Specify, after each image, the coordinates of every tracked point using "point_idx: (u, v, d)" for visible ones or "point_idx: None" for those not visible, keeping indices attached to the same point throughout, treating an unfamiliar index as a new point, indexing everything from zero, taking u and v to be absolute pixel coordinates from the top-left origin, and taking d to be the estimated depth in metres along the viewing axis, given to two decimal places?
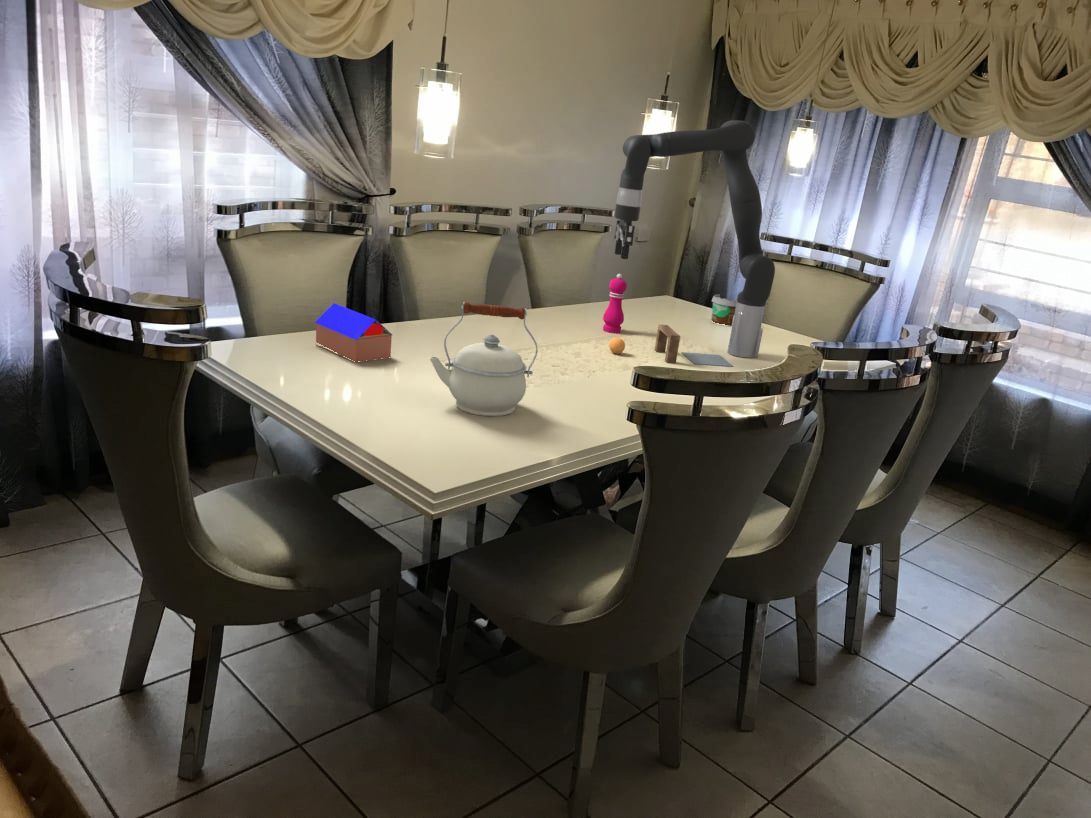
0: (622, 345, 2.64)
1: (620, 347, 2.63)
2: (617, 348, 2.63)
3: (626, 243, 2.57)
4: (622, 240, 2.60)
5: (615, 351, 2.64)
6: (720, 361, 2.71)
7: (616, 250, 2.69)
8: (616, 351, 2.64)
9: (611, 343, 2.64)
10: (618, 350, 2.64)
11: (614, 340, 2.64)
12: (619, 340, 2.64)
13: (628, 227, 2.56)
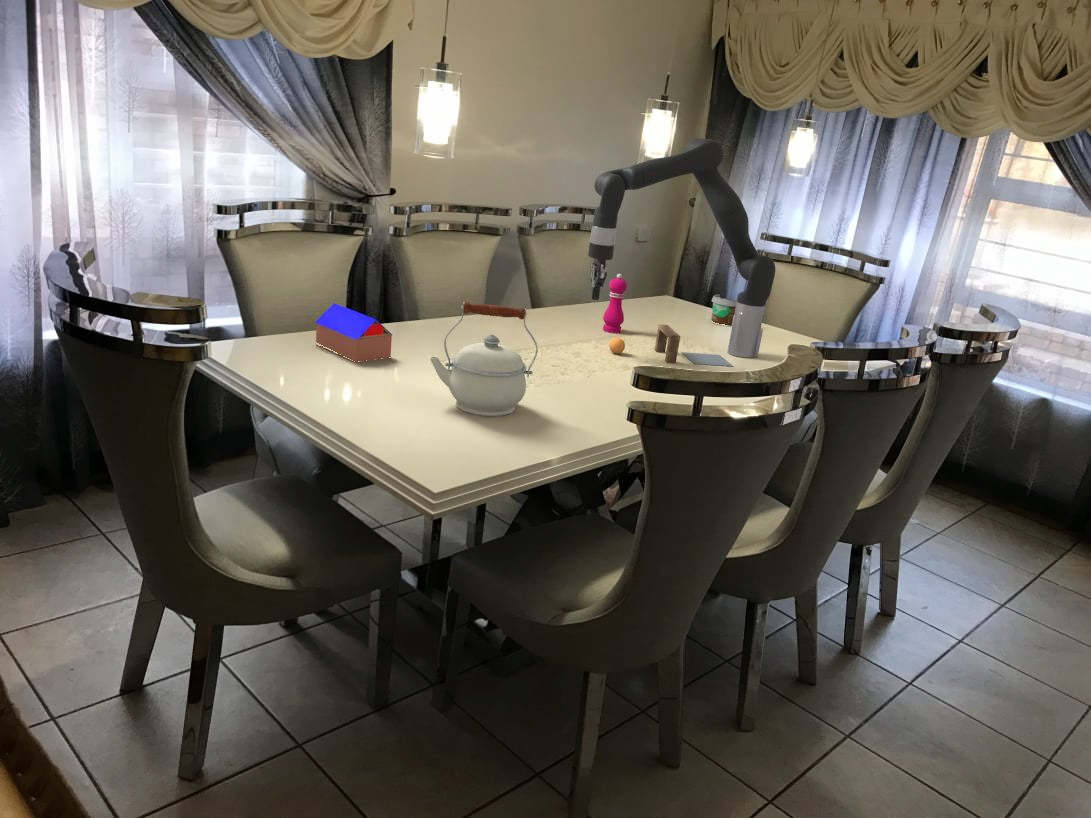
0: (622, 345, 2.64)
1: (620, 347, 2.63)
2: (617, 348, 2.63)
3: (596, 285, 2.55)
4: (593, 280, 2.57)
5: (615, 351, 2.64)
6: (720, 361, 2.71)
7: None
8: (616, 351, 2.64)
9: (611, 343, 2.64)
10: (618, 350, 2.64)
11: (614, 340, 2.64)
12: (619, 340, 2.64)
13: (600, 275, 2.51)
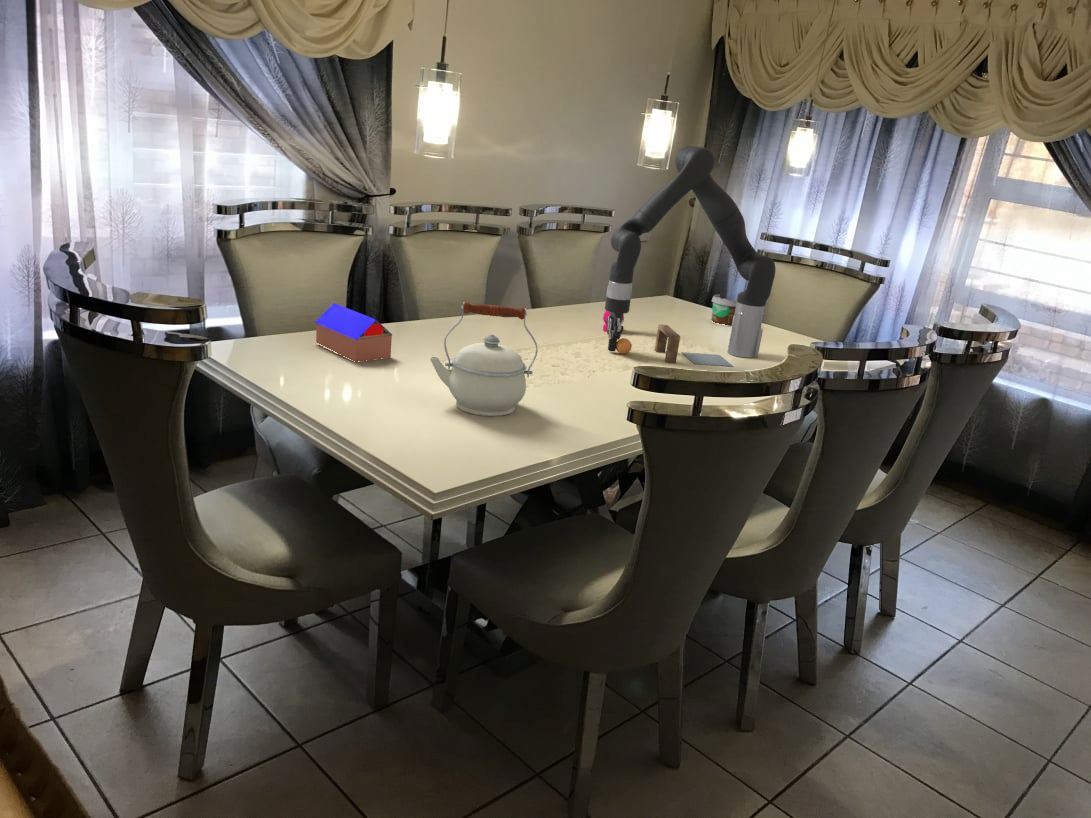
0: (629, 348, 2.64)
1: (626, 349, 2.64)
2: (624, 348, 2.64)
3: (613, 338, 2.62)
4: (610, 333, 2.63)
5: (620, 349, 2.64)
6: (720, 361, 2.71)
7: None
8: (621, 350, 2.64)
9: (621, 340, 2.64)
10: (623, 350, 2.64)
11: (625, 340, 2.64)
12: (629, 342, 2.64)
13: (617, 329, 2.58)
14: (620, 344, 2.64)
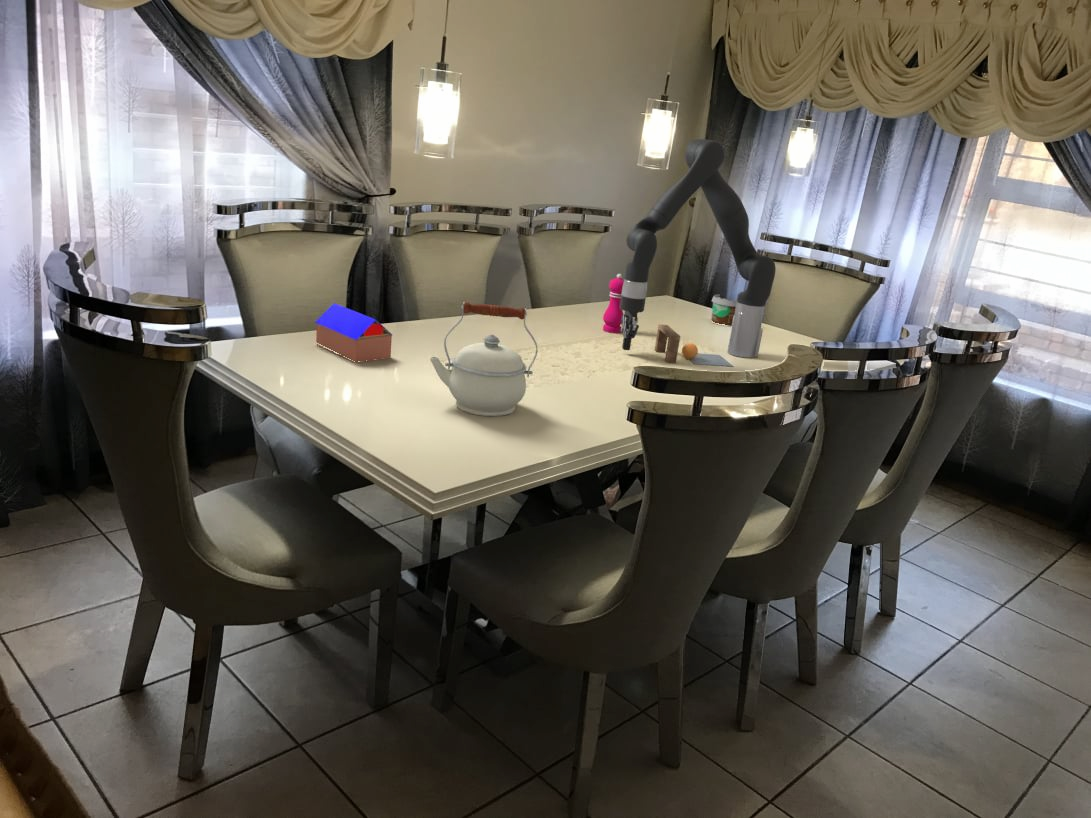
0: (688, 355, 2.68)
1: (690, 353, 2.67)
2: (692, 352, 2.67)
3: (628, 337, 2.62)
4: (625, 331, 2.64)
5: (693, 348, 2.67)
6: (720, 361, 2.71)
7: None
8: (692, 348, 2.67)
9: None
10: (691, 350, 2.67)
11: (695, 356, 2.69)
12: (690, 358, 2.69)
13: (632, 327, 2.58)
14: (696, 351, 2.68)
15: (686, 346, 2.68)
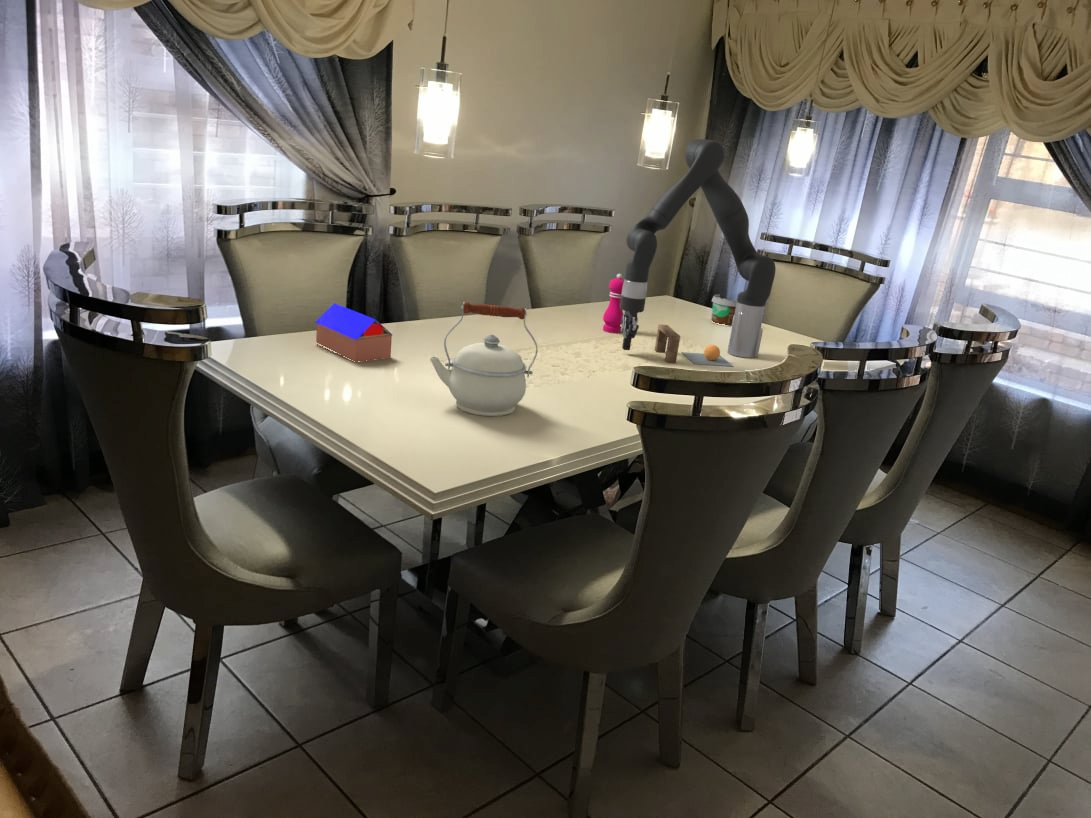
0: (717, 351, 2.68)
1: (716, 354, 2.68)
2: (713, 355, 2.68)
3: (628, 337, 2.62)
4: (625, 331, 2.64)
5: (712, 359, 2.69)
6: (720, 361, 2.71)
7: None
8: (713, 358, 2.69)
9: (706, 353, 2.69)
10: (715, 357, 2.69)
11: (707, 349, 2.69)
12: (712, 347, 2.69)
13: (632, 327, 2.58)
14: (708, 356, 2.69)
15: (717, 357, 2.70)
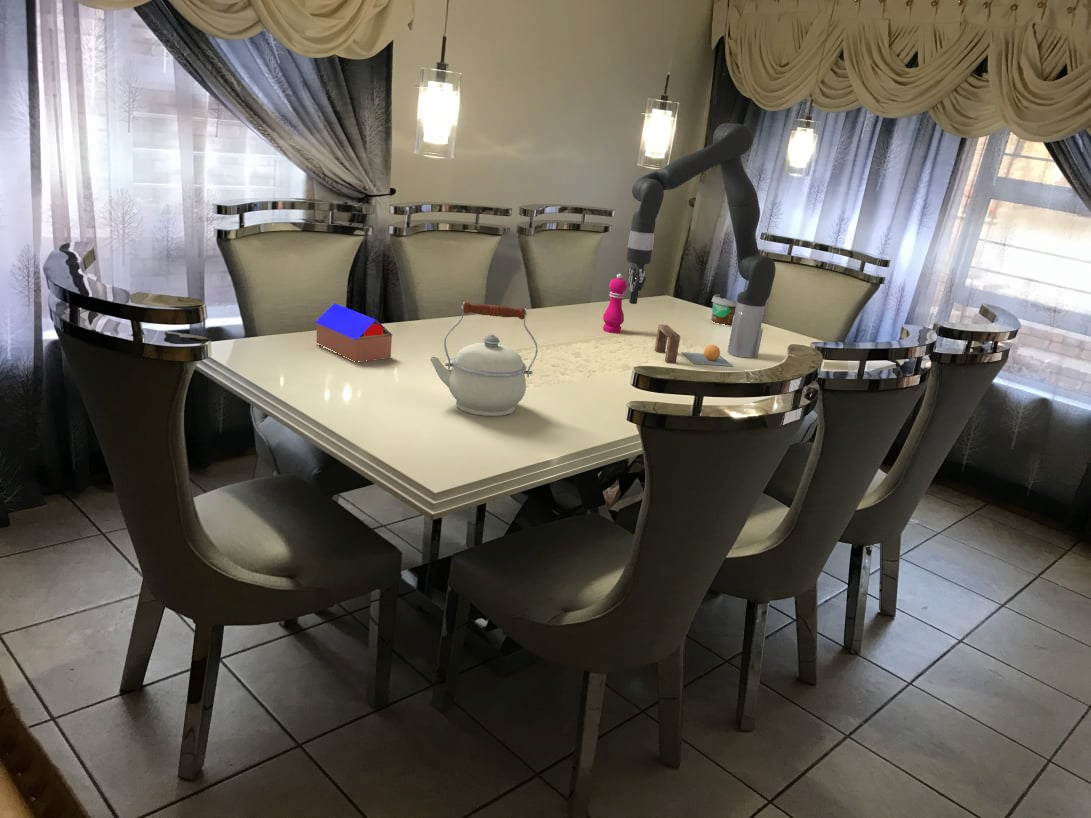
0: (717, 351, 2.68)
1: (716, 354, 2.68)
2: (713, 355, 2.68)
3: (635, 290, 2.57)
4: (632, 285, 2.59)
5: (712, 359, 2.69)
6: (720, 361, 2.71)
7: None
8: (713, 358, 2.69)
9: (706, 353, 2.69)
10: (715, 357, 2.69)
11: (707, 349, 2.69)
12: (712, 347, 2.69)
13: (639, 279, 2.53)
14: (708, 356, 2.69)
15: (717, 357, 2.70)
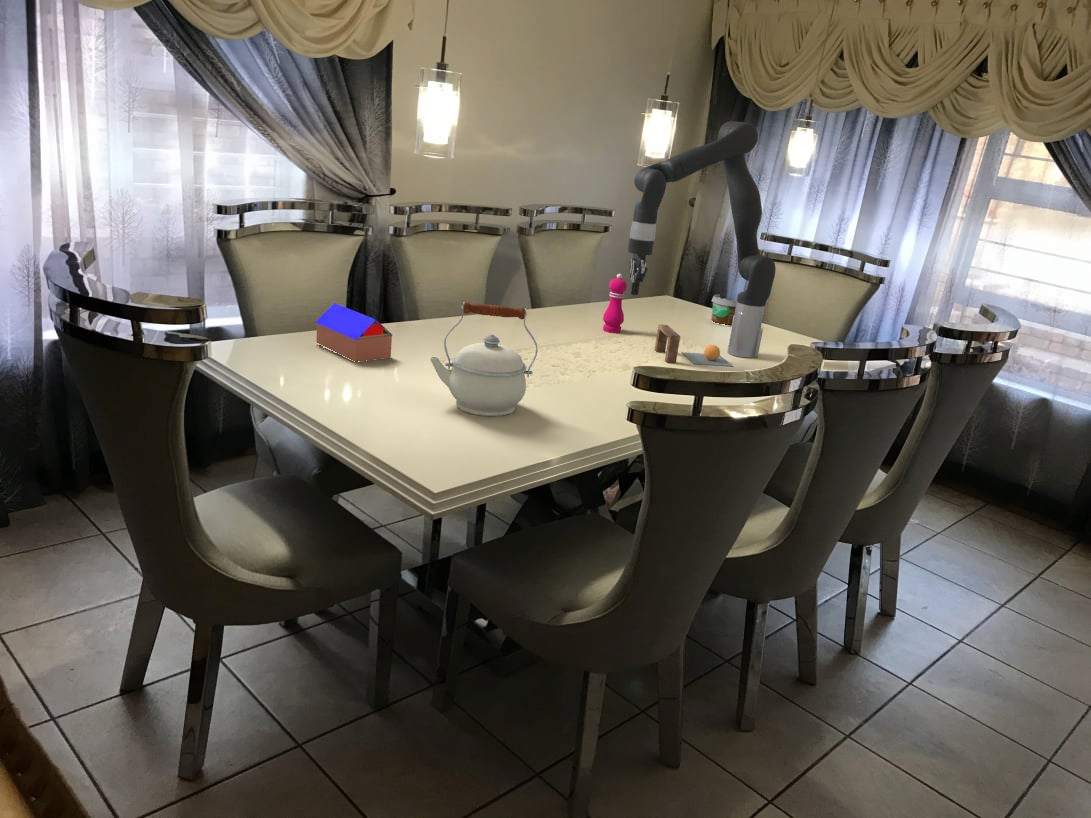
0: (717, 351, 2.68)
1: (716, 354, 2.68)
2: (713, 355, 2.68)
3: (636, 281, 2.56)
4: (633, 275, 2.58)
5: (712, 359, 2.69)
6: (720, 361, 2.71)
7: None
8: (713, 358, 2.69)
9: (706, 353, 2.69)
10: (715, 357, 2.69)
11: (707, 349, 2.69)
12: (712, 347, 2.69)
13: (640, 270, 2.52)
14: (708, 356, 2.69)
15: (717, 357, 2.70)
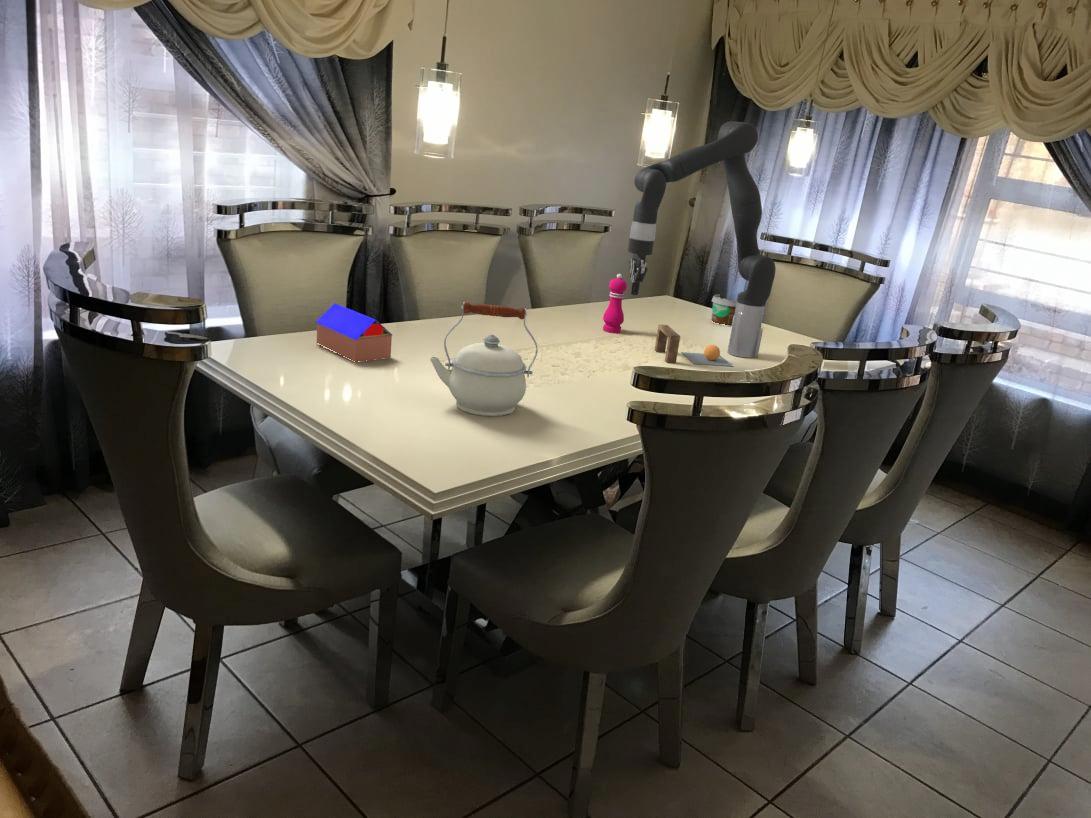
0: (717, 351, 2.68)
1: (716, 354, 2.68)
2: (713, 355, 2.68)
3: (636, 281, 2.56)
4: (633, 275, 2.58)
5: (712, 359, 2.69)
6: (720, 361, 2.71)
7: None
8: (713, 358, 2.69)
9: (706, 353, 2.69)
10: (715, 357, 2.69)
11: (707, 349, 2.69)
12: (712, 347, 2.69)
13: (640, 270, 2.52)
14: (708, 356, 2.69)
15: (717, 357, 2.70)
